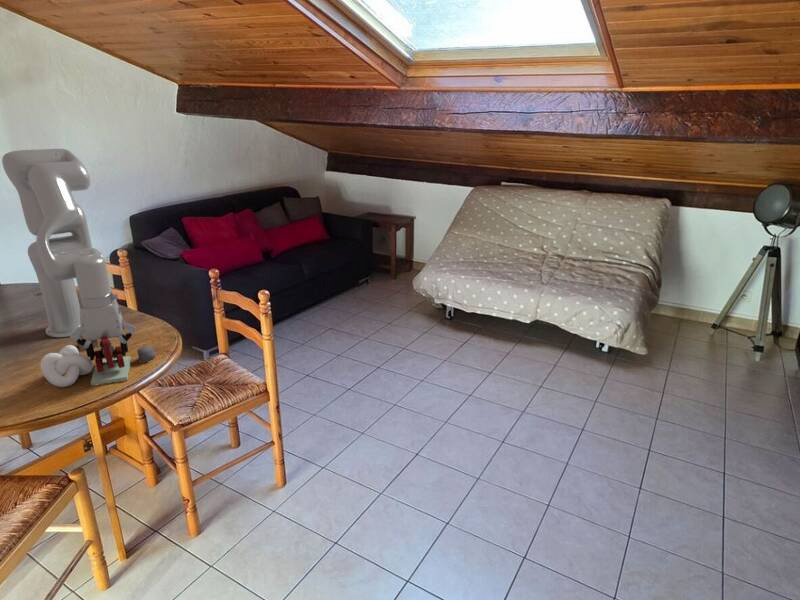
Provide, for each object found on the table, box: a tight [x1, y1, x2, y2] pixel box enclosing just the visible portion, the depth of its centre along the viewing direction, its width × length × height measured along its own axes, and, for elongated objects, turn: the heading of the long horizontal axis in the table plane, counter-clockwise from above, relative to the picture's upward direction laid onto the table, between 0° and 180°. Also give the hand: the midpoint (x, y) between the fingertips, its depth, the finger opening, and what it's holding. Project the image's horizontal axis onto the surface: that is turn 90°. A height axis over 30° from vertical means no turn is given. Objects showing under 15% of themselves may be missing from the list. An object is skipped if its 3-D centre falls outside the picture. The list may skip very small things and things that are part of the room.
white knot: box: [39, 344, 94, 388], centre depth 144 cm, size 11×12×9 cm
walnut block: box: [76, 333, 99, 352], centre depth 163 cm, size 5×5×4 cm
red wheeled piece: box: [94, 337, 125, 372], centre depth 147 cm, size 7×12×10 cm, turn 32°
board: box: [90, 355, 132, 386], centre depth 149 cm, size 13×9×1 cm
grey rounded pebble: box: [136, 345, 156, 363], centre depth 156 cm, size 4×4×4 cm
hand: (108, 355), depth 147 cm, fingers closed on red wheeled piece, 7 cm apart
